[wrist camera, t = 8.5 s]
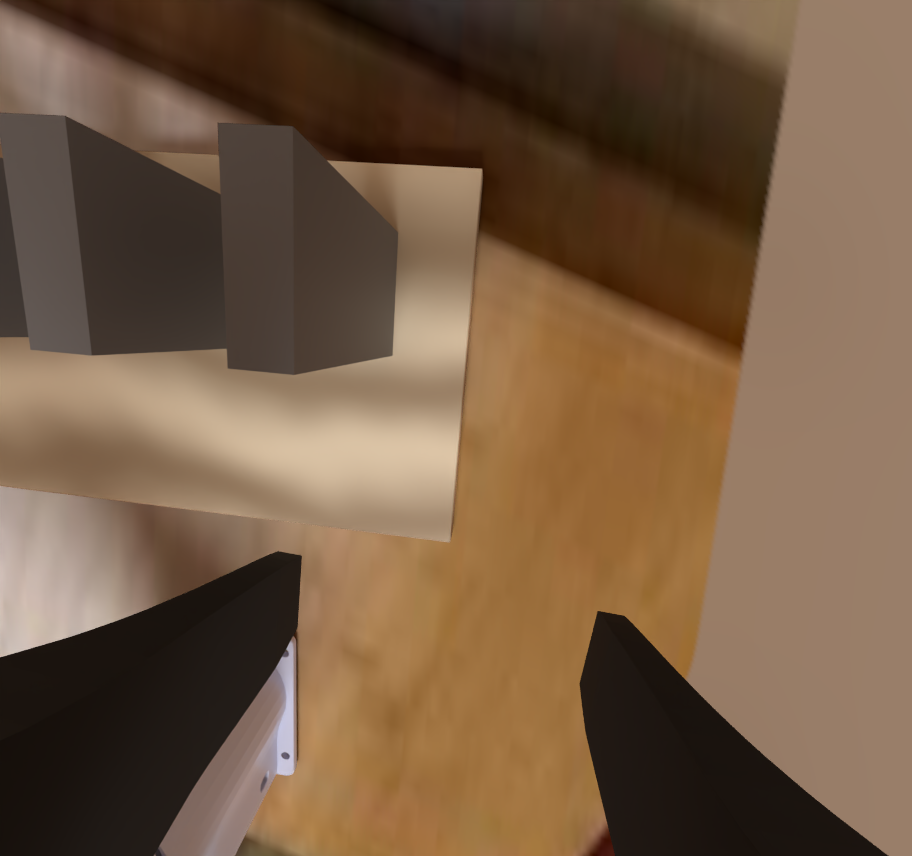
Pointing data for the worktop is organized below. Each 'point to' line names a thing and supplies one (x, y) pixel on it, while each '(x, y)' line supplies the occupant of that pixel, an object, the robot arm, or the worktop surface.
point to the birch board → (274, 395)
